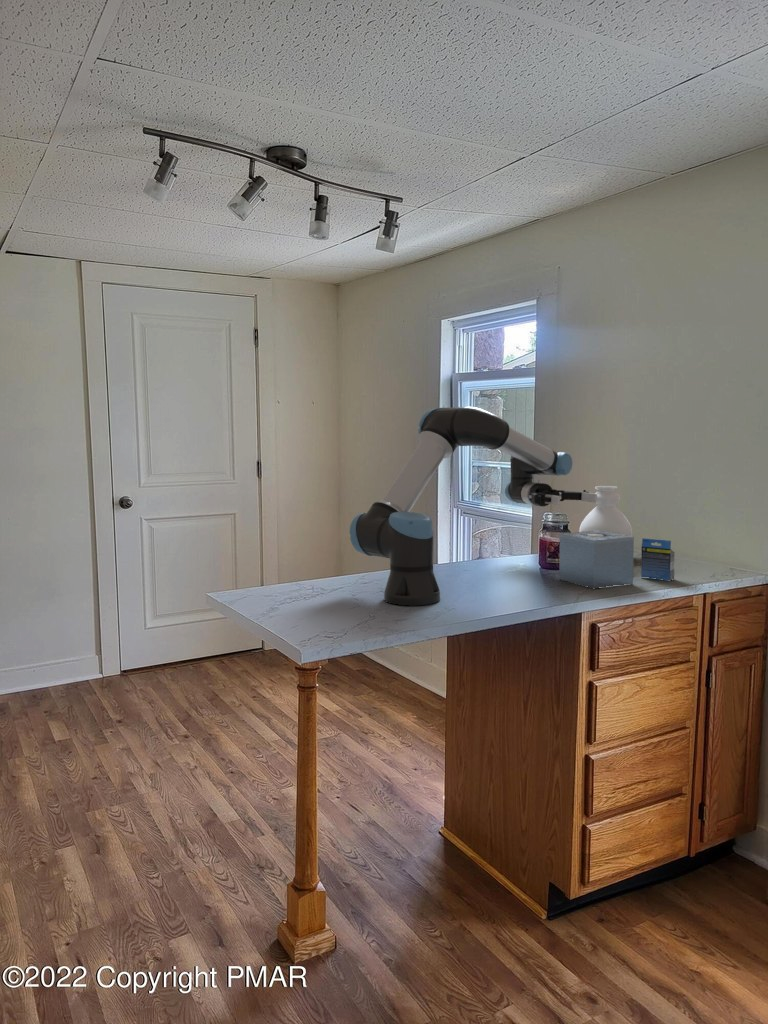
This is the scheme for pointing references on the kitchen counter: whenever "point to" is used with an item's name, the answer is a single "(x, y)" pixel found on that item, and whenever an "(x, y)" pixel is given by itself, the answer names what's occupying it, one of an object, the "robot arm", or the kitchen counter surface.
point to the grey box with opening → (596, 559)
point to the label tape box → (657, 559)
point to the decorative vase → (606, 514)
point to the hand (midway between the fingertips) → (577, 499)
